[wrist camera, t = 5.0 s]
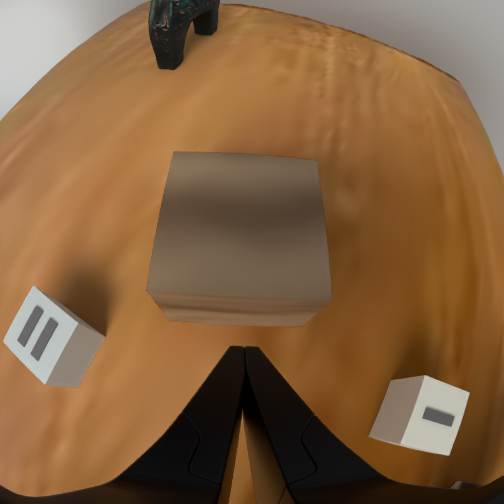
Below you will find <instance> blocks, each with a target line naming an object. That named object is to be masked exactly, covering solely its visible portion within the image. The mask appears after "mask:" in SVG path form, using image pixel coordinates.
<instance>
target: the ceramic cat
mask: <svg viewBox="0 0 504 504" xmlns="http://www.w3.org/2000/svg"><path fill="white" fill-rule="evenodd" d="M219 3H220V0H152V1H151V7H150V12H149V21H148V23H149V35H150V40H151V43H152V46H153V50H154V53H155V56H156V60H157V64H158V68H159V69H171V70H175V69H176V68H177V67H178V66H180V64H181V63H182V61H183V49H184V43H185V38H186V34H187V31H188V29H189V26H190V24H191V22H192V21H193V25H194V31H195V33H196V34H200V35H212V34H213V32H214V31H216V30H217V23H218V8H219Z"/></svg>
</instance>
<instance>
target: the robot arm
mask: <svg viewBox="0 0 504 504" xmlns="http://www.w3.org/2000/svg"><path fill="white" fill-rule="evenodd" d="M242 410H243V422H244V429H245V435H246V442H247V448H248V455H249V461H250V467H251V473H252V479H253V485H254V491H255V497H256V503H257V504H504V476H501V477H499V478H498V479H496V480H494V481H493V482H491V483H489V484H487V485H485V486H482V487H478V488H473V489H451V488H439V487H429V486H421V485H414V484H407V483H401V482H397V481H394V480H392V479H389V478H387V477H386V476H384V475H382V474H381V473H379V472H378V471H377V470H375V469H374V468H373V467H371V466H370V465H369V464H368V463H366V462H365V461H364V460H363V459H361V458H360V457H359V456H358V455H357V454H355V453H354V452H353V451H352V450H350V449H349V448H348V447H347V446H346V445H345V444H343V443H342V442H341V441H340V440H339V439H338V438H337V437H336V436H335V435H334V434H333V433H332V432H331V431H330V430H329V429H328V428H327V427H326V426H325V425H324V424H323V423H322V422H321V421H320V419H319V418H318V417H317V416H315V414H314V413H313V412H312V410H311V409H310V408H309V407H308V406H307V405H306V404H305V402H304V401H303V400H302V399H301V398H300V397H299V395H298V394H297V393H296V392H295V391H294V389H293V388H292V387H291V386H290V385H289V384H288V382H287V381H286V380H285V379H284V378H283V376H282V375H281V374H280V373H279V372H278V370H277V369H276V368H275V367H274V365H273V364H272V363H271V362H270V361H269V359H268V358H267V357H266V356H265V354H264V353H263V352H262V351H261V349H260V348H259V347H253V346H246V347H245V348H244V347H243V346H230V347H229V348H228V350H227V351H226V352H225V354H224V355H223V356H222V358H221V359H220V361H219V362H218V363H217V365H216V366H215V367H214V369H213V370H212V372H211V373H210V374H209V376H208V377H207V378H206V380H205V381H204V382H203V384H202V385H201V387H200V388H199V389H198V391H197V392H196V393H195V395H194V396H193V397H192V399H191V400H190V401H189V403H188V404H187V405H186V407H185V408H184V409H183V411H182V412H181V413H180V414H179V416H178V417H177V418H176V420H175V421H174V422H173V423H172V425H171V426H170V427H169V428H168V429H167V431H166V432H165V433H164V434H163V435H162V436H161V437H160V438H159V439H158V440H157V441H156V442H155V443H154V444H153V445H152V446H151V447H150V448H149V449H148V450H147V451H146V452H145V453H144V454H142V455H141V456H140V457H139V458H138V459H137V460H136V461H135V462H134V463H132V464H131V465H130V466H129V467H128V468H127V469H126V470H125V471H123V472H122V473H121V474H120V475H119V476H117V477H116V478H114V479H113V480H111V481H109V482H107V483H105V484H102V485H99V486H95V487H91V488H86V489H82V490H77V491H72V492H67V493H62V494H56V495H50V496H43V497H29V496H23V495H19V494H16V493H14V492H12V491H10V490H8V489H6V488H5V487H3V486H1V485H0V504H229V498H230V491H231V485H232V479H233V472H234V466H235V460H236V453H237V447H238V440H239V433H240V427H241V420H242Z"/></svg>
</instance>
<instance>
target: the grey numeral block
mask: <svg viewBox="0 0 504 504" xmlns="http://www.w3.org/2000/svg"><path fill="white" fill-rule="evenodd" d="M105 338H106V337H105V336H103V335H102V334H101V333H99V332H98V331H96V330H95V329H94V328H92V327H91V326H90V325H88V324H87V323H86V322H84V321H83V320H82V319H80V318H79V317H78V316H77V315H75V314H74V313H73V312H71V311H70V310H69V309H68V308H66V307H65V306H64V305H62V304H61V303H59V302H58V301H56V300H55V299H53V298H52V297H50V296H49V295H47V294H46V293H44V292H43V291H41V290H40V289H38V288H37V287H35V286H33V287H32V289H31V291H30V292H29V294H28V296H27V297H26V299H25V301H24V303H23V304H22V306H21V308H20V310H19V312H18V313H17V315H16V317H15V319H14V321H13V323H12V325H11V327H10V329H9V330H8V332H7V334H6V336H5V338H4V341H3V342H4V343H5V344H6V345H7V346H8V347H9V348H10V350H11V351H12V352H13V353H14V354H15V355H16V356H17V357H18V358H19V359H20V360H21V361H22V362H23V364H24V365H25V366H26V367H27V368H28V369H29V370H30V371H31V372H32V373H33V374H34V375H35V376H36V377H37V378H39V379H40V380H41V381H42V382H43V383H44V384H45V385H51V386H60V387H70V388H78V387H79V385H80V383H81V381H82V379H83V377H84V375H85V374H86V372H87V370H88V368H89V366H90V364H91V363H92V361H93V359H94V357H95V355H96V354H97V352H98V350H99V348H100V346H101V345H102V343H103V341H104V339H105Z"/></svg>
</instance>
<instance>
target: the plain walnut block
mask: <svg viewBox="0 0 504 504" xmlns="http://www.w3.org/2000/svg"><path fill="white" fill-rule="evenodd" d="M146 291H147V292H148V294H149V295H150V296H151V297H152V299H153V300H154V301H155V303H156V304H157V305H158V306H159V308H160V309H161V310H162V311H163V313H164V314H165V315H166V316H167V318H168V319H169V320H170V321H175V322H188V323H203V324H220V325H241V326H273V327H302V326H303V325H304V324H305V323H306V322H308V321H309V320H310V319H311V318H312V317H313V316H314V315H315V314H317V313H318V312H319V311H320V310H321V309H322V308H323V307H324V306H325V305H326V304H328V303H329V302H330V301H331V300H332V289H331V276H330V264H329V254H328V244H327V234H326V225H325V217H324V208H323V200H322V193H321V186H320V178H319V172H318V165H317V160H311V159H301V158H292V157H281V156H269V155H255V154H239V153H219V152H176V151H174V152H173V156H172V160H171V164H170V168H169V173H168V177H167V181H166V186H165V190H164V194H163V199H162V204H161V209H160V213H159V218H158V223H157V229H156V234H155V239H154V245H153V251H152V257H151V263H150V269H149V275H148V282H147V289H146Z"/></svg>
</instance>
